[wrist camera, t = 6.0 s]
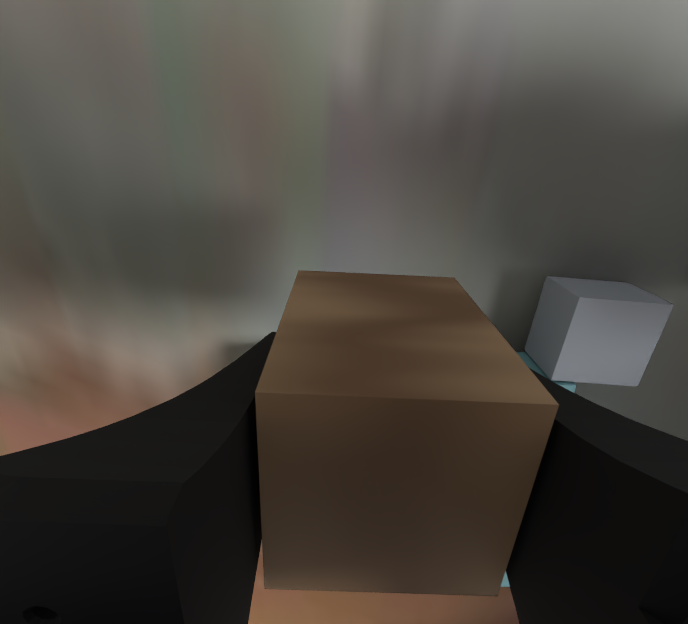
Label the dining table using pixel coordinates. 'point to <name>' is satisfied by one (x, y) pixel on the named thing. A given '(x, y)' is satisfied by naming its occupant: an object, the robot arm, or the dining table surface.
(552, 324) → the slate block
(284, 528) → the walnut block
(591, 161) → the dining table surface
